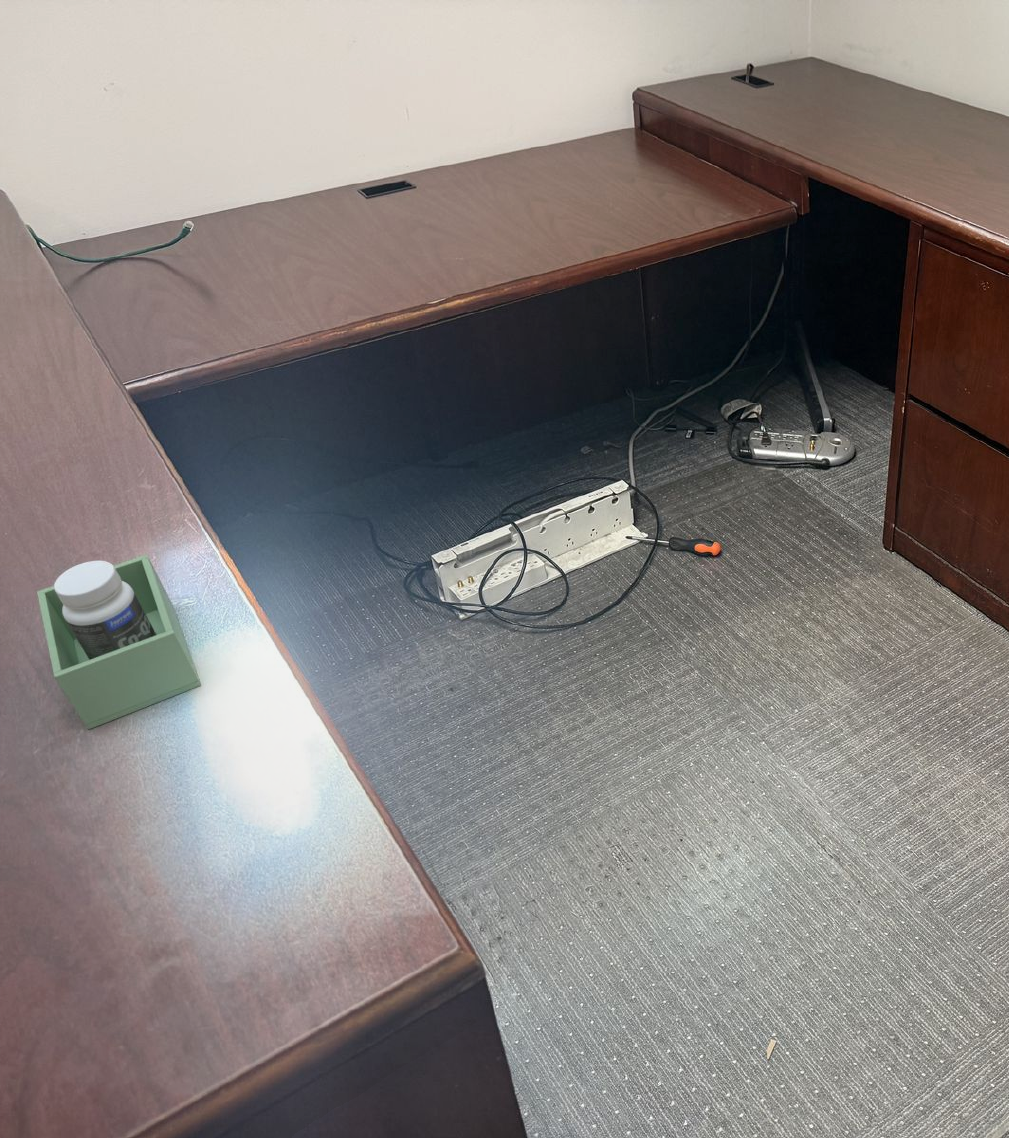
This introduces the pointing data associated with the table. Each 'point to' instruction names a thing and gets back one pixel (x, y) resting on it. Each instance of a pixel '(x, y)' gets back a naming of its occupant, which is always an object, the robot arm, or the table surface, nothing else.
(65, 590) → the pill bottle
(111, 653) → the bin
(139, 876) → the table surface
